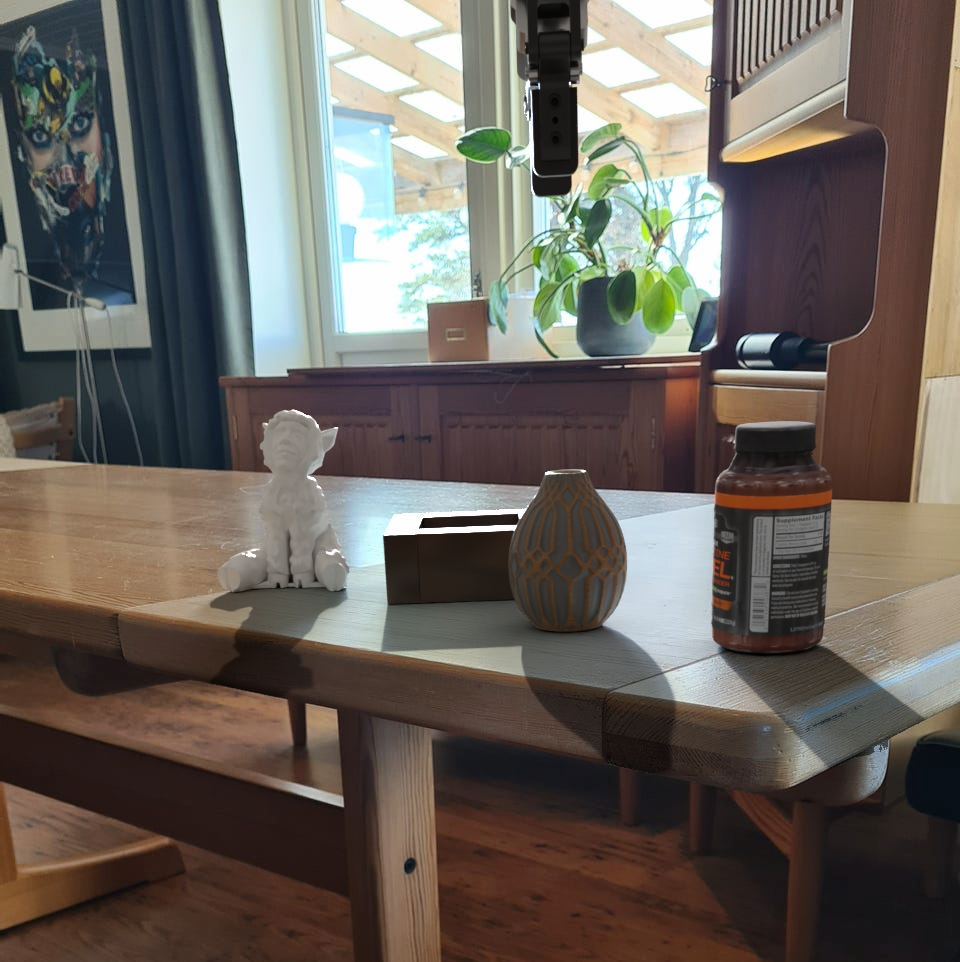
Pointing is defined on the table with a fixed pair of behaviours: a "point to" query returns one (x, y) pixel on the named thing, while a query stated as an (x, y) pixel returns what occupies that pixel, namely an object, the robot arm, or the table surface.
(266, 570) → the seated beast figurine
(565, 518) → the vase
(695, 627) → the table surface
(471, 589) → the holder
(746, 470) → the supplement bottle
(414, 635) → the table surface
